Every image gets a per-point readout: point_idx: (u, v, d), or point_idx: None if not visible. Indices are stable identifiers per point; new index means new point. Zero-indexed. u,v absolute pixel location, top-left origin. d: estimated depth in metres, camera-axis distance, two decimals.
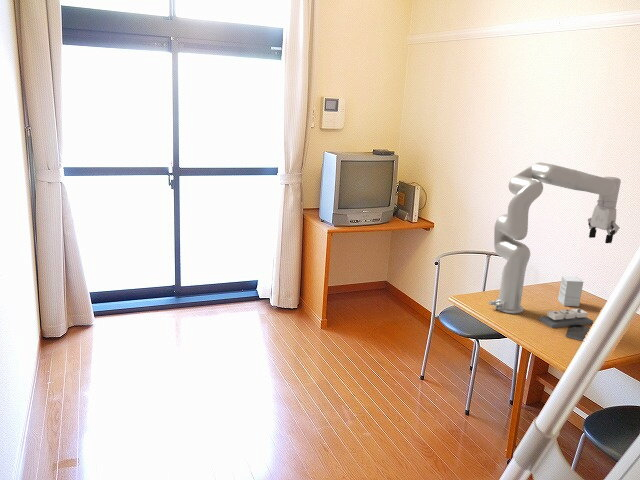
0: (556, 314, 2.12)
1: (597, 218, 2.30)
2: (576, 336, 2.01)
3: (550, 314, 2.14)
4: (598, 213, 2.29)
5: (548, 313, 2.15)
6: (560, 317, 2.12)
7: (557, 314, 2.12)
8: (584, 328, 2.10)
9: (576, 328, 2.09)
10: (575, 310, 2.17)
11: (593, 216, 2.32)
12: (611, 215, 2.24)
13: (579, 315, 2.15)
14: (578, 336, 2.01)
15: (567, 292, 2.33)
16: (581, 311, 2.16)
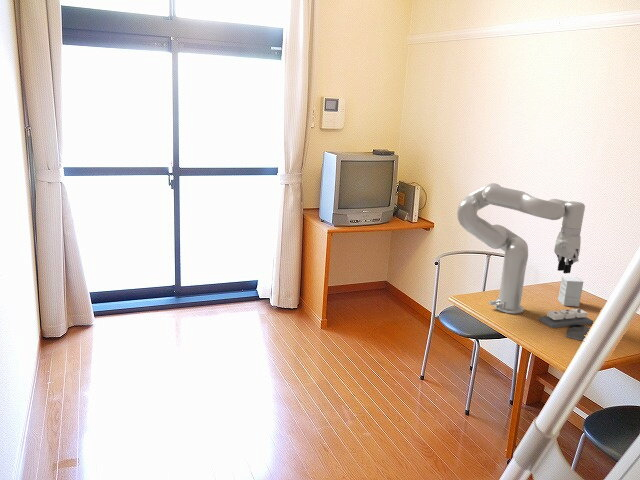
0: (556, 314, 2.12)
1: (561, 245, 2.14)
2: (576, 336, 2.01)
3: (550, 314, 2.14)
4: (561, 240, 2.13)
5: (548, 313, 2.15)
6: (560, 317, 2.12)
7: (557, 314, 2.12)
8: (584, 328, 2.10)
9: (576, 328, 2.09)
10: (575, 310, 2.17)
11: (557, 243, 2.16)
12: (575, 243, 2.08)
13: (579, 315, 2.15)
14: (578, 336, 2.01)
15: (567, 292, 2.33)
16: (581, 311, 2.16)
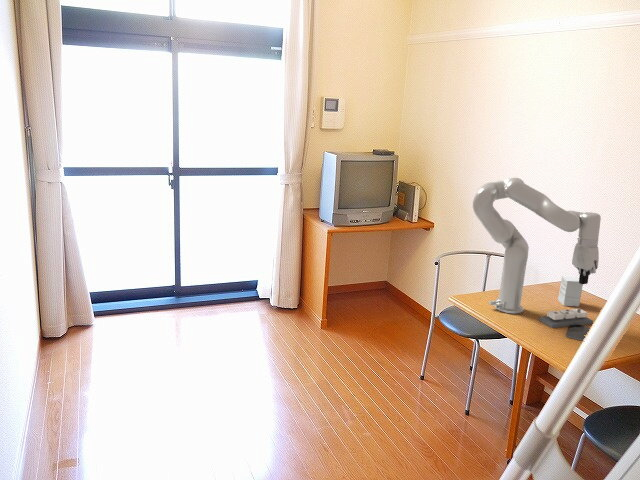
0: (556, 314, 2.12)
1: (578, 257, 2.11)
2: (576, 336, 2.01)
3: (550, 314, 2.14)
4: (578, 251, 2.11)
5: (548, 313, 2.15)
6: (560, 317, 2.12)
7: (557, 314, 2.12)
8: (584, 328, 2.10)
9: (576, 328, 2.09)
10: (575, 310, 2.17)
11: (574, 255, 2.14)
12: (593, 254, 2.06)
13: (579, 315, 2.15)
14: (578, 336, 2.01)
15: (567, 292, 2.33)
16: (581, 311, 2.16)
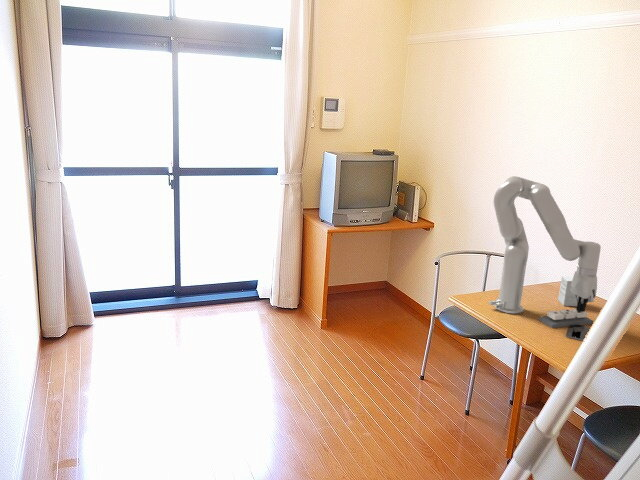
0: (556, 314, 2.12)
1: (577, 285, 2.14)
2: (576, 336, 2.01)
3: (550, 314, 2.14)
4: (577, 280, 2.14)
5: (548, 313, 2.15)
6: (560, 317, 2.12)
7: (557, 314, 2.12)
8: (584, 328, 2.10)
9: (576, 328, 2.09)
10: (575, 310, 2.17)
11: (573, 282, 2.16)
12: (591, 284, 2.08)
13: (579, 315, 2.15)
14: (578, 336, 2.01)
15: (567, 292, 2.33)
16: None
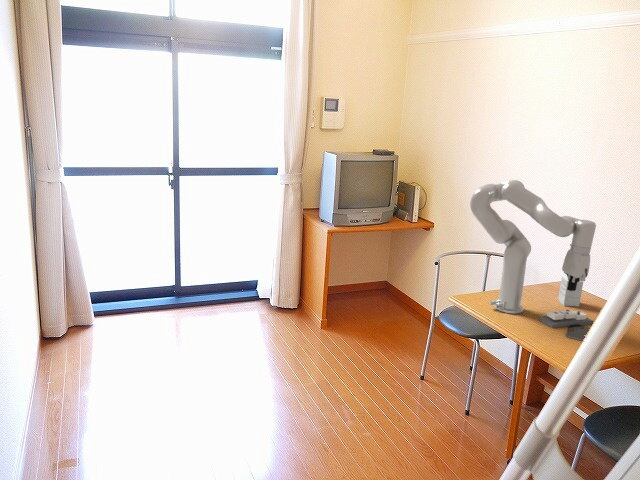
0: (556, 314, 2.12)
1: (569, 264, 2.10)
2: (576, 336, 2.01)
3: (550, 314, 2.14)
4: (570, 258, 2.10)
5: (548, 313, 2.15)
6: (560, 317, 2.12)
7: (557, 314, 2.12)
8: (584, 328, 2.10)
9: (576, 328, 2.09)
10: (575, 312, 2.18)
11: (565, 261, 2.12)
12: (584, 262, 2.05)
13: (579, 317, 2.15)
14: (578, 336, 2.01)
15: (567, 292, 2.33)
16: (581, 313, 2.17)
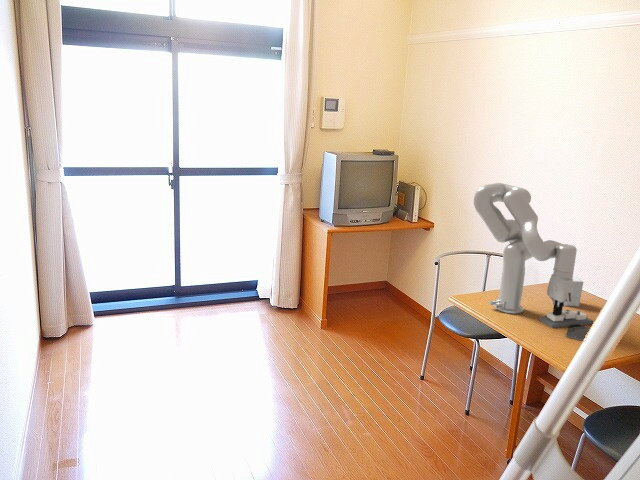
0: (556, 316, 2.12)
1: (553, 288, 2.11)
2: (576, 336, 2.01)
3: (550, 316, 2.14)
4: (553, 283, 2.10)
5: (548, 315, 2.15)
6: (560, 319, 2.12)
7: (557, 316, 2.13)
8: (584, 328, 2.10)
9: (576, 328, 2.09)
10: (575, 312, 2.18)
11: (549, 286, 2.13)
12: (567, 287, 2.05)
13: (579, 317, 2.15)
14: (578, 336, 2.01)
15: None
16: (581, 313, 2.17)
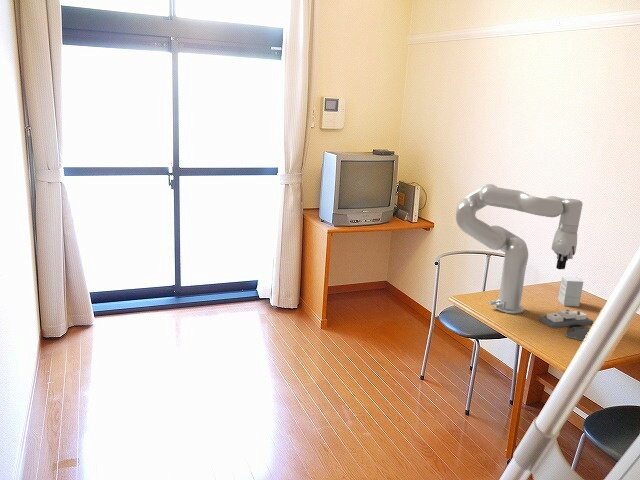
0: (556, 316, 2.13)
1: (558, 242, 2.15)
2: (576, 336, 2.01)
3: (550, 316, 2.14)
4: (558, 237, 2.14)
5: (548, 315, 2.15)
6: (560, 319, 2.12)
7: (557, 316, 2.13)
8: (584, 328, 2.10)
9: (576, 328, 2.09)
10: (575, 312, 2.18)
11: (554, 240, 2.17)
12: (571, 240, 2.09)
13: (579, 317, 2.15)
14: (578, 336, 2.01)
15: (567, 292, 2.33)
16: (581, 313, 2.17)
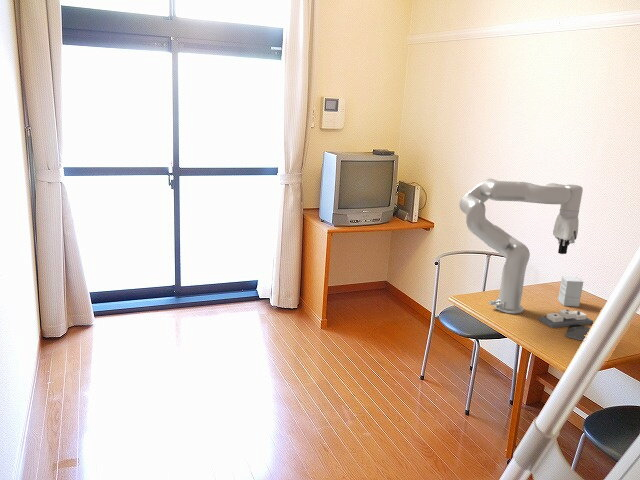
0: (556, 316, 2.13)
1: (559, 228, 2.20)
2: (576, 336, 2.01)
3: (550, 316, 2.14)
4: (560, 222, 2.19)
5: (548, 315, 2.15)
6: (560, 319, 2.12)
7: (557, 316, 2.13)
8: (584, 328, 2.10)
9: (576, 328, 2.09)
10: (575, 312, 2.18)
11: (555, 225, 2.22)
12: (573, 225, 2.14)
13: (579, 317, 2.15)
14: (578, 336, 2.01)
15: (567, 292, 2.33)
16: (581, 313, 2.17)
